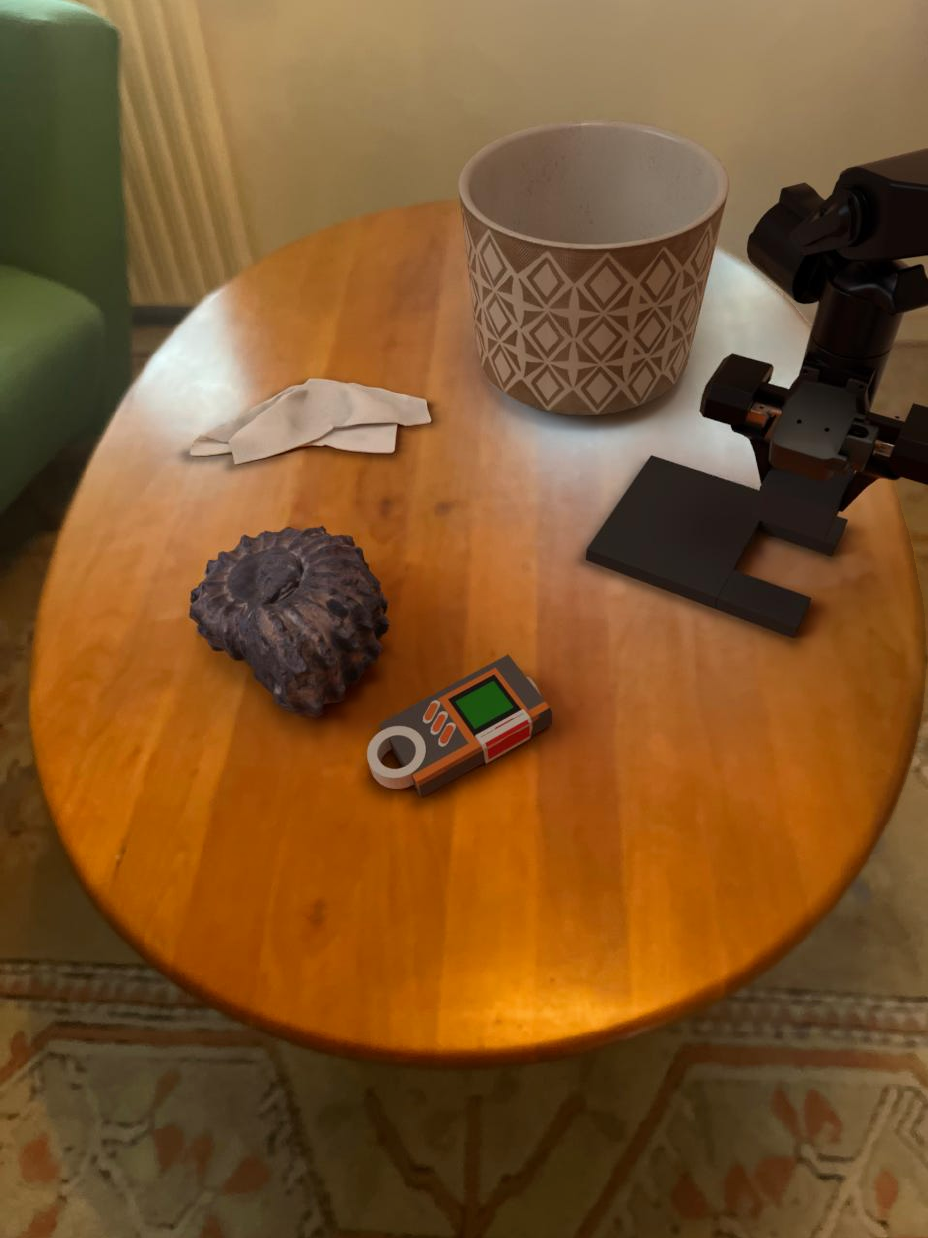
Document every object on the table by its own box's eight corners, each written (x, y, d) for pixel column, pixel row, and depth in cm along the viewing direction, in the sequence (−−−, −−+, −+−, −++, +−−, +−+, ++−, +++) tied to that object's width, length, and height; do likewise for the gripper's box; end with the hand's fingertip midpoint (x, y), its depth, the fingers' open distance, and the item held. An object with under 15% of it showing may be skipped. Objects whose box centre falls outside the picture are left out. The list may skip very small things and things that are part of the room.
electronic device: (352, 735, 76) (511, 649, 79) (358, 753, 78) (513, 669, 82) (391, 799, 72) (556, 706, 76) (396, 817, 74) (557, 726, 78)
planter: (451, 432, 103) (437, 241, 86) (485, 299, 119) (479, 116, 102) (696, 449, 99) (732, 252, 82) (697, 309, 116) (727, 121, 99)
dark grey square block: (846, 496, 82) (857, 465, 79) (824, 542, 79) (835, 511, 76) (776, 474, 84) (784, 443, 81) (751, 517, 81) (759, 486, 78)
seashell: (331, 769, 78) (449, 632, 77) (208, 706, 70) (338, 552, 69) (265, 650, 93) (363, 535, 92) (157, 587, 85) (263, 459, 84)
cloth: (431, 376, 109) (429, 359, 108) (431, 455, 101) (429, 438, 99) (206, 388, 110) (201, 371, 108) (187, 467, 101) (181, 451, 99)
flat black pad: (844, 530, 91) (848, 519, 90) (793, 638, 83) (797, 627, 82) (649, 465, 98) (651, 454, 97) (585, 559, 90) (586, 548, 89)
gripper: (686, 360, 67) (661, 519, 79) (962, 439, 61) (889, 599, 73) (741, 283, 73) (710, 442, 85) (998, 347, 67) (925, 509, 79)
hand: (802, 496), depth 80 cm, fingers closed on dark grey square block, 6 cm apart
